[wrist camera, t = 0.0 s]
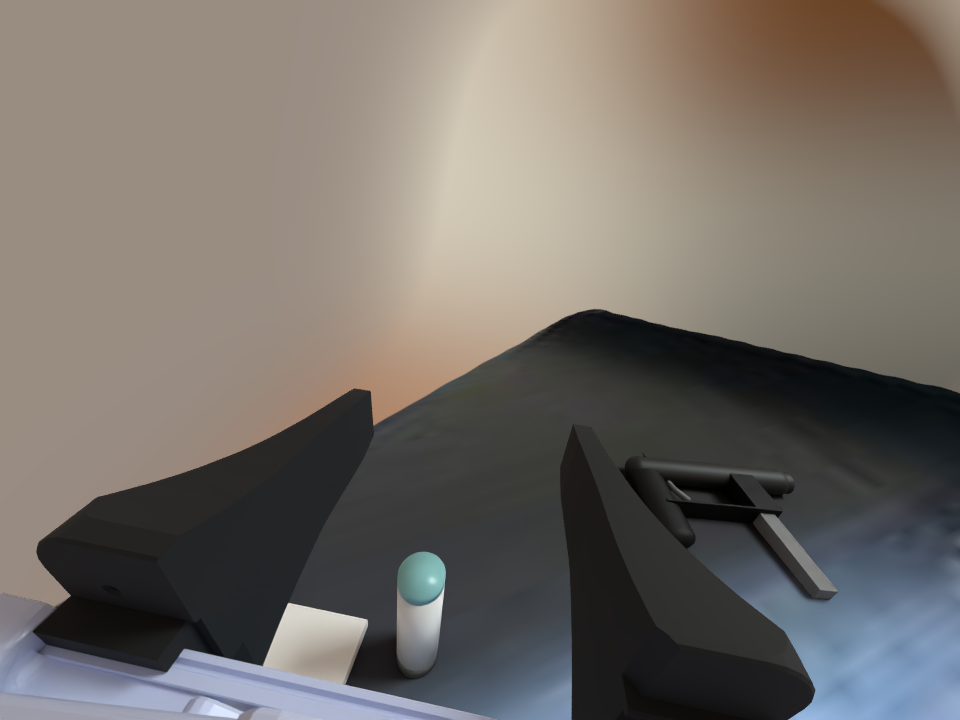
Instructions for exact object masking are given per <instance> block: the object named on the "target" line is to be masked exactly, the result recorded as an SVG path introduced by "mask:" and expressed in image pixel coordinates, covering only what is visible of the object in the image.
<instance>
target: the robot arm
mask: <svg viewBox="0 0 960 720" xmlns="http://www.w3.org/2000/svg"><path fill="white" fill-rule="evenodd" d="M373 435H374V430H373V417H372V404H371V392H370V391H366V390H361V389H353V390H351V391H349V392H347V393H346V394H344V395H342V396H341V397H339V398H338V399H336V400H334V401H333V402H331V403H330V404H328V405H326V406H325V407H323V408H321V409H320V410H318V411H317V412H315V413H313V414H312V415H310V416H308V417H307V418H305V419H303V420H301V421H300V422H298V423H296V424H294V425H293V426H291V427H289V428H287V429H285V430H284V431H282V432H280V433H278V434H276V435H274V436H272V437H270V438H268V439H266V440H264V441H262V442H260V443H258V444H255V445H253V446H251V447H249V448H247V449H245V450H242V451H240V452H238V453H236V454H233V455H230V456H228V457H225V458H222V459H220V460H217V461H215V462H212V463H210V464H207V465H205V466H202V467H199V468H196V469H193V470H190V471H187V472H185V473H182V474H179V475H176V476H172V477H169V478H166V479H163V480H160V481H156V482H153V483H149V484H146V485H142V486H138V487H135V488H131V489H127V490H123V491H120V492H116V493H112V494H108V495H105V496H100V497H97V498H95V499H94V500H93V501H92V502H90V503H89V504H88V505H86V506H85V507H84V508H82V509H81V510H80V511H79V512H77V513H76V514H75V515H73V516H72V517H71V518H69V519H68V520H67V521H66V522H64V523H63V524H62V525H60V526H59V527H58V528H56V529H55V530H54V531H52V532H51V533H50V534H49V535H47V536H46V537H45V538H44V539H42V540H41V541H40V542H39V543H38V546H37V556H38V559H39V560H40V561H41V563H42V564H43V566H44V567H45V568H46V569H47V570H48V571H49V572H50V574H51V575H52V576H53V577H54V578H55V579H56V580H57V581H58V582H59V583H60V584H61V585H62V586H63V587H64V589H65V590H66V591H67V592H68V593H69V594H70V595H71V596H70V597H69V598H68V599H67V600H66V601H65V602H64V603H63V604H62V605H61V606H59V607H58V608H57V609H56V608H55V607H53V606H51V605H49V604H47V603H43V602H41V601H37V600H32V599H27V598H23V597H18V596H14V595H9V594H5V593H2V594H0V720H499V719H494V718H490V717H485V716H481V715H477V714H472V713H468V712H463V711H459V710H454V709H450V708H445V707H441V706H437V705H432V704H428V703H423V702H419V701H414V700H410V699H405V698H401V697H397V696H392V695H388V694H383V693H379V692H374V691H370V690H366V689H361V688H357V687H352V686H348V685H343V684H339V683H334V682H330V681H326V680H321V679H317V678H312V677H308V676H303V675H299V674H295V673H290V672H286V671H281V670H277V669H272V668H268V667H263V664H264V662H265V659H266V656H267V654H268V651H269V649H270V646H271V644H272V641H273V639H274V636H275V634H276V631H277V629H278V626H279V624H280V621H281V619H282V616H283V614H284V612H285V609H286V607H287V605H288V602H289V600H290V598H291V595H292V593H293V591H294V588H295V586H296V583H297V581H298V579H299V577H300V575H301V572H302V570H303V568H304V566H305V564H306V561H307V559H308V557H309V555H310V553H311V551H312V549H313V546H314V544H315V542H316V540H317V538H318V536H319V534H320V532H321V530H322V528H323V526H324V524H325V522H326V520H327V519H328V517H329V515H330V513H331V511H332V510H333V508H334V507H335V505H336V503H337V502H338V500H339V498H340V497H341V495H342V493H343V492H344V490H345V489H346V487H347V485H348V484H349V482H350V480H351V479H352V477H353V475H354V474H355V472H356V470H357V469H358V467H359V465H360V464H361V462H362V460H363V458H364V456H365V454H366V452H367V449H368V447H369V445H370V442H371V440H372V438H373ZM560 487H561V502H562V510H563V518H564V526H565V533H566V541H567V549H568V557H569V567H570V586H571V623H572V720H788V719H790V718H791V717H793V716H794V715H796V714H797V713H799V712H800V711H802V710H804V709H805V708H806V707H807V706H808V705H809V704H810V703H811V702H812V700H813V697H814V693H815V688H814V686H813V683H812V681H811V679H810V677H809V675H808V673H807V672H806V670H805V668H804V666H803V664H802V662H801V660H800V658H799V656H798V654H797V652H796V651H795V649H794V647H793V645H792V644H791V642H790V640H789V638H788V637H787V635H786V634H785V632H784V631H783V630H782V629H781V628H779V627H778V626H777V625H775V624H774V623H773V622H772V621H770V620H769V619H768V618H766V617H765V616H764V615H763V614H761V613H760V612H759V611H758V610H756V609H755V608H754V607H752V606H751V605H750V604H749V603H747V602H746V601H745V600H743V599H742V598H741V597H740V596H738V595H737V594H736V593H735V592H734V591H733V590H731V589H730V588H729V587H728V586H727V585H726V584H724V583H723V582H722V581H721V580H720V579H719V578H717V577H716V576H715V575H714V574H713V573H712V572H711V571H709V570H708V569H707V568H706V567H705V566H704V565H703V564H702V563H701V562H700V561H698V560H697V559H696V558H695V557H694V556H693V555H692V554H691V553H690V552H689V551H688V550H687V549H686V548H685V547H684V546H683V545H682V544H681V543H680V542H679V541H678V540H677V539H676V538H675V537H674V536H673V535H672V534H671V533H670V532H669V531H668V530H667V529H666V528H665V527H664V525H663V524H662V523H661V522H660V521H659V520H658V519H657V518H656V517H655V515H654V514H653V513H652V512H651V511H650V510H649V509H648V507H647V506H646V505H645V504H644V503H643V501H642V500H641V499H640V498H639V496H638V495H637V494H636V493H635V491H634V490H633V489H632V487H631V486H630V485H629V483H628V482H627V481H626V479H625V478H624V476H623V475H622V473H621V472H620V471H619V469H618V468H617V466H616V465H615V463H614V462H613V460H612V459H611V457H610V456H609V454H608V453H607V451H606V450H605V448H604V446H603V445H602V443H601V442H600V440H599V438H598V437H597V435H596V434H595V432H594V431H593V429H592V428H591V427H587V426H581V425H575V424H573V426H572V430H571V433H570V436H569V440H568V443H567V446H566V450H565V453H564V456H563V460H562V463H561V467H560Z"/></svg>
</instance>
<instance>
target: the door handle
mask: <svg viewBox="0 0 960 720" xmlns="http://www.w3.org/2000/svg"><path fill="white" fill-rule="evenodd" d="M643 455H644V454H643ZM625 471H626V474H627V475H628V477H629V478H630V479H631V480H632V482H633V484H634V487H635V489H636V491H637V493H638V495H639V497H640V499H641V500H642V501H643V503H644V504H645V505H646V506H647V507H648V509H649V510H650V511H651V512H652V513H653V514H654V515H655V517H656V518H657V519H658V520H659V521H660V522H661V523H662V524H663V525H664V527H665V528H666V529H667V530H668V531H669V532H670V533H671V534H672V535H673V536H674V537H675V538H676V539H677V540H678V541H679V542H680V543H681V544H682V545H683V546H684V547H685V548H688V547H690V546H692V545H693V544H694V542H695V534H694V532H693V530H692V529H691V527H690V525H689V523H688V521H687V520H686V518H685V517H689V518H700V519H711V520H721V521H732V522H743V523H752V524H754V526H755V527H756V528H757V530H758V531H759V532H760V534H761V535H762V536H763V537H764V538H765V540H766V541H767V542H768V543H769V545H770V546H771V547H772V548H773V550H774V551H775V552H776V553H777V555H778V556H779V557H780V558H781V559H782V561H783V562H784V563H785V564H786V566H787V567H788V568H789V569H790V571H791V572H792V573H793V574H794V576H795V577H796V578H797V579H798V580H799V582H800V583H801V584H802V585H803V587H804V588H805V589H806V590H807V592H808V593H809V594H810V595H811V597H812V598H820V599H831V598H832V597H833V596H834V595H835V594H836V593H837V592H838V591H837V589H836V588H835V587H834V586H833V585H832V583H831V582H830V581H829V580H828V579H827V577H826V576H825V575H824V574H823V572H822V571H821V570H820V569H819V568H818V566H817V565H816V564H815V563H814V562H813V560H812V559H811V558H810V557H809V556H808V554H807V553H806V552H805V551H804V549H803V548H802V547H801V546H800V545H799V543H798V542H797V541H796V540H795V539H794V537H793V536H792V535H791V534H790V533H789V531H788V530H787V529H786V528H785V526H784V525H783V524H782V523H781V522H780V520H779V519H778V517H779V516H780V514H781V513H782V512H783V510H782V509H781V508H780V507H779V506H778V505H777V503H776V502H775V501H774V500H773V499H772V498H771V496H770V495H769V494H772V495H781V494H789V493H791V492H792V491H793V490H794V481H793V479H792V477H791V476H790V475H789V474H787V473H785V472H780V471H777V470H773V469H762V468H752V467H742V466H731V465H721V464H711V463H701V462H690V461H680V460H670V459H660V458H649V457H645V456H644V457H639V456H634V457H631V458H630V459H628V460H627V462H626V464H625ZM675 485H677V486H688V487H698V488H709V489H719V490H722V492H723V493H724V494H725V495H726V497H727V498H728V499H729V500H730V502H731V503H732V504H733V505H729V504H718V503H708V502H697V501H690V500H691V498H690V497H688V496H687V495H685V494H684V493H683V492H681V491H680V490H679V489H678V488H677V487H676V486H675ZM668 487H669V488H670V489H671V490H672V491H673V492H674V493H675V494H676V495H677V496H679V497H680V498H681V499H682V500H676V499H675V498H674V497H673V495H672V493H671V491H670V490H669V488H668Z"/></svg>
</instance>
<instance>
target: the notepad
mask: <svg viewBox="0 0 960 720" xmlns="http://www.w3.org/2000/svg"><path fill="white" fill-rule="evenodd" d="M367 627H368V620H366V619H362V618H357V617H352V616H347V615H343V614H338V613H333V612H329V611H324V610H319V609H314V608H310V607H305V606H300V605H295V604H291V603H288V605H287V607H286V609H285V612H284V614H283V616H282V619H281V621H280V624H279V626H278V629H277V631H276V634H275V636H274V639H273V641H272V644H271V646H270V649H269V651H268V654H267V656H266V659H265V662H264V664H263V667H268V668H272V669H277V670H281V671H286V672H290V673H295V674H299V675H303V676H308V677H312V678H317V679H321V680H326V681H330V682H334V683H339V684H343V685H346V682H347V680H348V677H349V674H350V672H351V669H352V666H353V664H354V661H355V658H356V656H357V653H358V651H359V648H360V645H361V643H362V640H363V637H364V635H365V632H366V630H367Z"/></svg>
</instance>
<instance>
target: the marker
mask: <svg viewBox="0 0 960 720" xmlns="http://www.w3.org/2000/svg"><path fill="white" fill-rule="evenodd" d="M445 575H446V572H445V567H444V564H443V562H442V561H441V560H440V558H439V557H437V556H436V555H434V554H432V553H429V552H418V553H415V554H412V555H410V556H409V557H407V558H406V559H405V560H404V561H403V563H402V564H401V566H400V568H399V571H398V587H397V658H396V659H397V665H398V668H399V670H400V671H401V672H402V674H403V675H405V676H406V677H408V678H412V679H417V678H421V677H423V676H425V675H427V674H428V673H429V672H430V671H431V670H432V668H433V667H434V665H435V662H436V659H437V652H438V642H439V633H440V623H441V613H442V604H443V594H444V585H445Z"/></svg>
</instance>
